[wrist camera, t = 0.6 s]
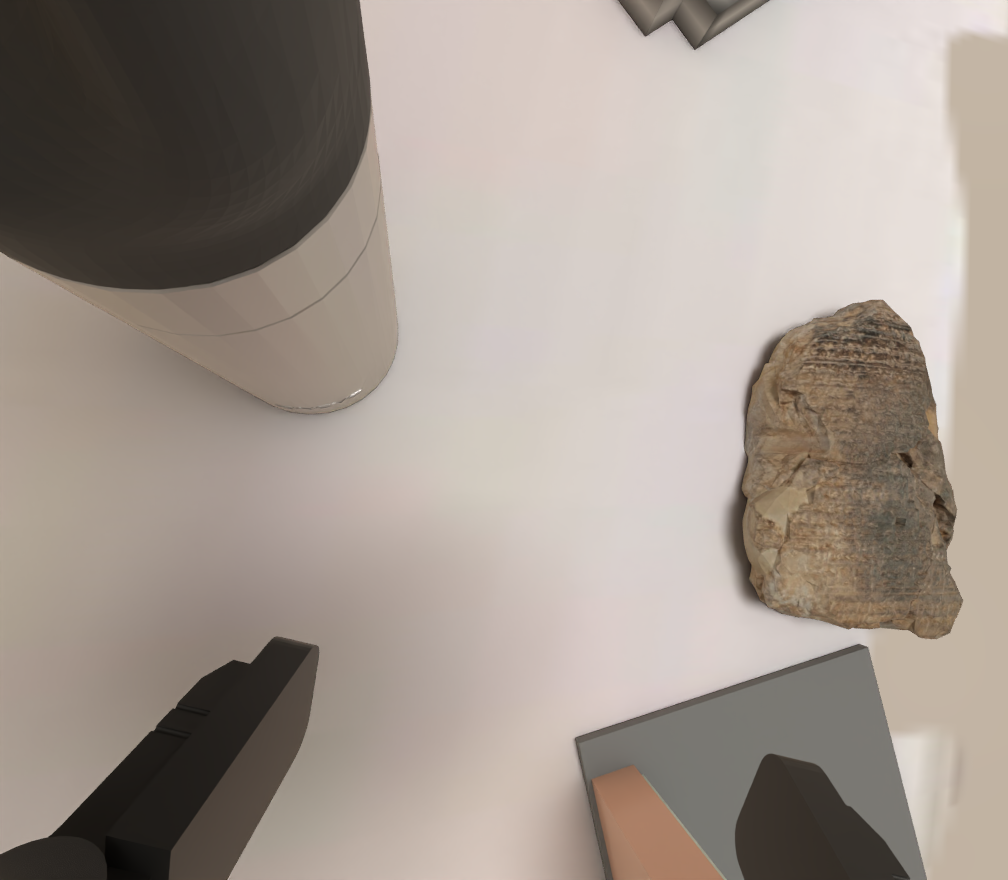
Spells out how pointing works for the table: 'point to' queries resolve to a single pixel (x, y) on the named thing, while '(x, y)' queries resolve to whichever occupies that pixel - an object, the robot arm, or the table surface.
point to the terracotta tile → (646, 832)
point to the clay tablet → (850, 478)
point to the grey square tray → (690, 15)
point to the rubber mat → (764, 752)
